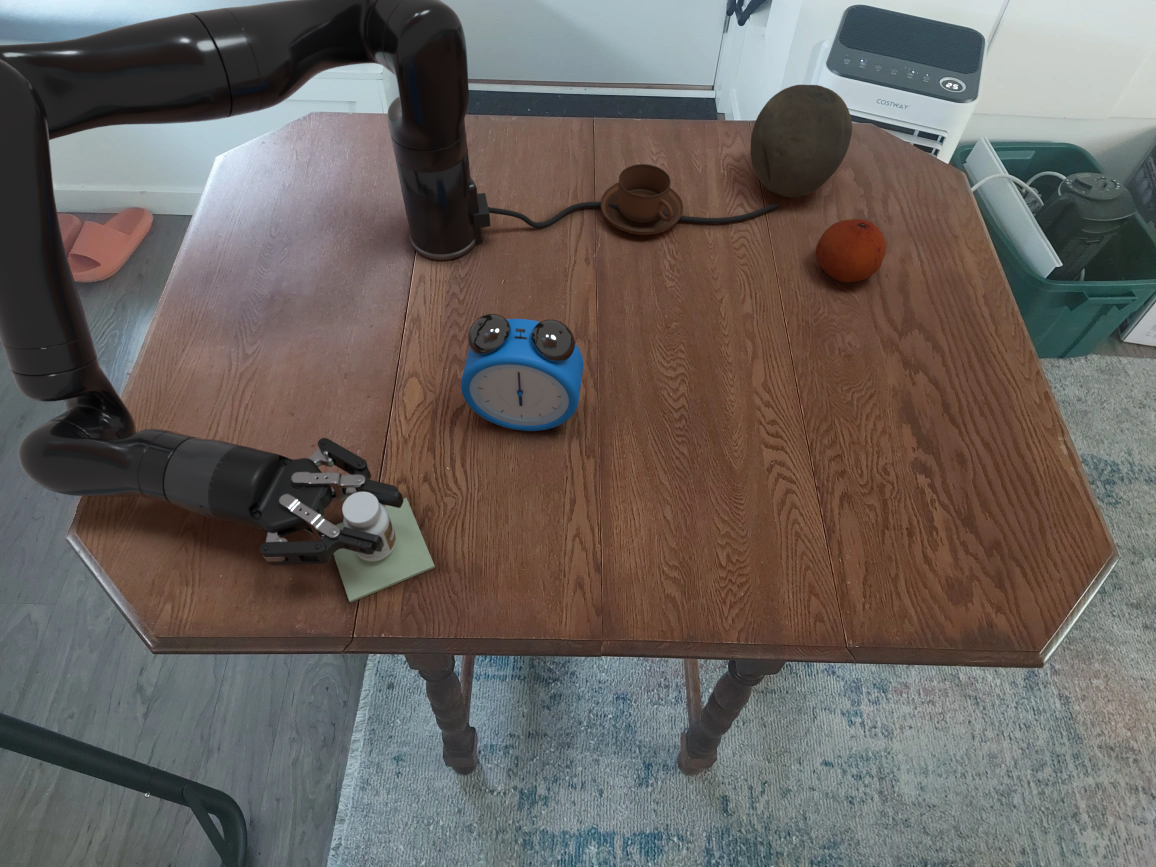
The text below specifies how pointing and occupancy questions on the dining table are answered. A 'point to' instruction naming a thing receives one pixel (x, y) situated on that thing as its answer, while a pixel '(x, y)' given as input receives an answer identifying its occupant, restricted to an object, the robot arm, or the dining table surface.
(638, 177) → the cup and saucer
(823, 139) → the kiwi
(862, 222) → the fruit
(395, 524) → the coaster
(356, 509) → the pill bottle
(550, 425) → the alarm clock
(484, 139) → the dining table surface
